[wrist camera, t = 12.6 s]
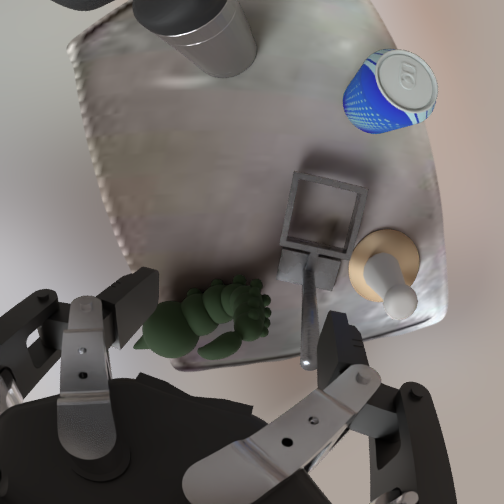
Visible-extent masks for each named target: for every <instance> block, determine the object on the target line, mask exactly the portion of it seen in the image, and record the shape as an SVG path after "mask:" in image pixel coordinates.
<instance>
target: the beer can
mask: <svg viewBox="0 0 504 504" xmlns="http://www.w3.org/2000/svg"><path fill="white" fill-rule="evenodd" d="M437 95H438V85H437V80H436V78H435V75H434V73H433V71H432V70H431V68H430V67H429V65H428V64H427V63H426V62H425V61H424V60H423V59H421V58H420V57H419V56H417V55H415V54H414V53H412V52H409V51H406V50H396V49H383V50H379V51H377V52H375V53H373V54H372V55H370V56H369V57H368V58H367V59H366V61H365V62H364V63H363V65H362V66H361V68H360V69H359V71H358V72H357V74H356V75H355V77H354V78H353V80H352V81H351V83H350V84H349V85H348V87H347V89H346V90H345V92H344V96H343V107H344V111H345V113H346V115H347V117H348V119H349V120H350V121H351V123H352V124H353V125H354V126H356V127H357V128H358V129H360V130H362V131H364V132H367V133H371V134H380V133H384V132H388V131H392V130H395V129H399V128H403V127H407V126H410V125H414V124H418V123H420V122H422V121H424V120H425V119H427V118H428V117H429V116H430V114H431V113H432V111H433V109H434V106H435V103H436V99H437Z"/></svg>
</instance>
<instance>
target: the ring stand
mask: <svg viewBox="0 0 504 504" xmlns="http://www.w3.org/2000/svg"><path fill="white" fill-rule="evenodd" d="M299 179H301V180H306V181H310V182H315V183H319V184H324V185H328V186H332V187H336V188H341V189H345V190H349V191H353V192H356V193H357V198H356V202H355V206H354V210H353V214H352V219H351V222H350V226H349V230H348V234H347V238H346V242H345V245H344V248H339V247H335V246H330V245H326V244H321V243H317V242H312V241H308V240H303V239H299V238H294V237H289V236H287V234H288V230H289V225H290V220H291V215H292V210H293V206H294V201H295V196H296V191H297V186H298V180H299ZM368 190H369V189H366V188H364V187H361V186H357V185H353V184H349V183H345V182H341V181H337V180H333V179H328V178H324V177H320V176H315V175H311V174H306V173H302V172H297V171H294V174H293V179H292V184H291V189H290V194H289V199H288V204H287V209H286V214H285V219H284V224H283V229H282V234H281V239H280V244H279V245H281V246H285V247H290V248H295V249H299V250H304V251H308V252H309V253H308V252H303V251H299V250H294V249H289V248H285V247H283V248H282V253H281V258H280V262H279V267H278V271H277V276H276V280H281V281H286V282H290V283H295V284H300V285H302V327H301V358H300V365H301V367H302V368H303V369H305V370H308V371H311V370H315V369H317V345H318V340H319V337H320V336H319V321H318V308H317V297H316V288H319V289H323V290H328V291H332V289H333V286H334V283H335V280H336V276H337V273H338V270H339V266H340V263H341V261H340V259H345V260H349V261H350V259H351V256H352V252H353V249H354V245H355V241H356V238H357V234H358V230H359V227H360V223H361V219H362V215H363V211H364V207H365V203H366V198H367V194H368ZM319 254H322V255H327V256H331V257H336V258H340V259H335V258H331V257H326V256H322V255H319Z"/></svg>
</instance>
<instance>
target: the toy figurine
mask: <svg viewBox="0 0 504 504" xmlns="http://www.w3.org/2000/svg"><path fill="white" fill-rule="evenodd" d="M246 281H247V280H246V278H245V277H244V276H243V275H236V276H235V277H234V279H233V284H229V285H227V286H226V285H224V284H223V282H222V280H220V279H214V280H213V281H212V282H211V287H209V288H208V289H207V290H206V291H205V292H204V293H203V294H202V293H201V291H200V290H199V289H197V288H192V289H190V290H189V291H188V292H187V298H185V299H184V301H183V302H182V303H180V302H176V301H165V302H162V303H159V304H158V305H157V308H156V310H155V311H154V312H153V314H152V315H151V316H150V317H149V318H148V319H147V320H146V321H145V323H144V324H143V328H142V330H143V335H142V337H141V338H140V339H139V340H138V341H137V342H136V344H135V345H134V347H133V348H134V349H151V350H152V351H153V352H155V353H156V354H158V355H160V356H163V357H166V358H179V357H182V356H184V355H186V354H188V353H189V352H191V351H192V350H193V349H194V347H195V346H196V344H197V342H198V340H199V337H200V336H204V335H208V334H209V333H211V332H213V331H214V330H215V329H216V328H217V326H218V325H219V324H222V323H227V322H229V321H231V320H232V319H234V330H235V331H234V332H232V331H230V332H226V333H224V334H222V335H220V336H219V337H217V338H216V339H215V340H213V341H212V342H210V343H208V344H207V345H205V346H203V347H201V348H198V354H199V355H200V356H201V357H203V358H205V359H209V360H218V359H223V358H226V357H228V356H230V355H232V354H234V353H235V352H237V350H238V349H239V348H240V346H241V344H242V340H244V341H254V340H256V339H258V338H259V337H265V336H267V335H268V329H267V328H268V327H269V326H270V320H269V319H268V317H270V315H271V310H270V308H268V307H266V308H265V306H268V305H269V304H270V302H271V298H270V297H269V296H268V295H266V294H264V295H261V294H260V290H261V289H262V287H263V285H262V282H261V280H259V279H253V280H252V281H251V282H250V286H248V285H246ZM244 285H245V286H244Z"/></svg>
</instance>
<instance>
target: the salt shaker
mask: <svg viewBox="0 0 504 504" xmlns="http://www.w3.org/2000/svg"><path fill="white" fill-rule="evenodd" d="M363 276H364V279H365V281H366V284H367V285H368V286H369V287H371V288H372V289H373V290H374V291H375V292H376V293H377V294H378V295H379V296H380V297H381V298H382V299H383V306H384V309H385V311H386V313H387V315H388V316H390V317H391V318H392V319H394V320H402V319H406V318H408V317H409V316H410V315H412V314H413V312H414V311H415V309H416V308H417V303H418V300H417V296H416V293H415V291H414V290H413V289H412V288H411V287H410V286H409V285H406V283H405V280H404V277H403V274H402V271H401V268H400V265H399V263H398V260H397V259H396V258H395V257H394V256H392V255H391V254H387V253H384V252H382V253H378V254H375V255H373V256H372V257H370V258H369V259H368V261H367V262H366V264H365V266H364V272H363Z"/></svg>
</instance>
